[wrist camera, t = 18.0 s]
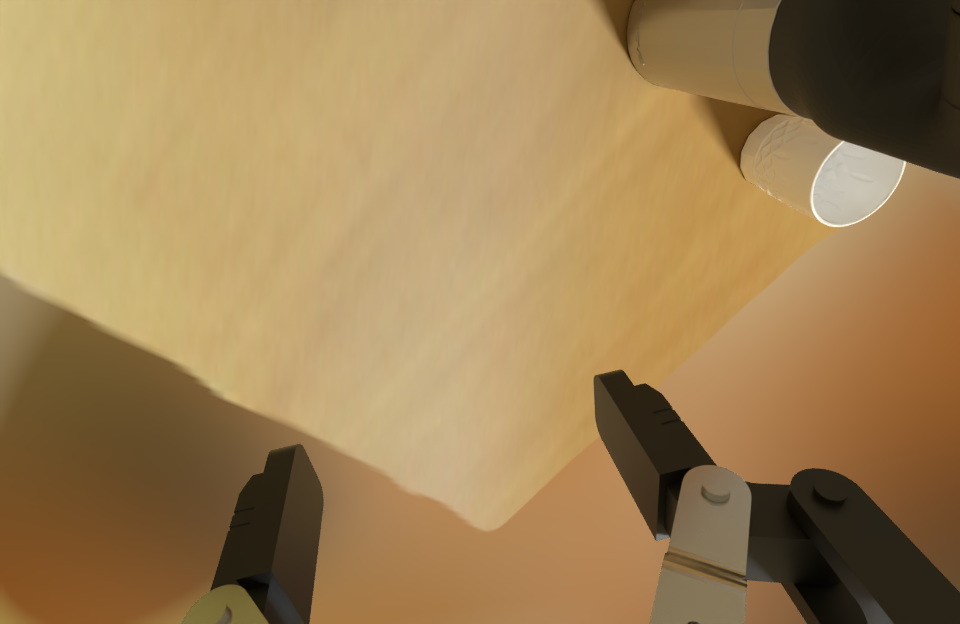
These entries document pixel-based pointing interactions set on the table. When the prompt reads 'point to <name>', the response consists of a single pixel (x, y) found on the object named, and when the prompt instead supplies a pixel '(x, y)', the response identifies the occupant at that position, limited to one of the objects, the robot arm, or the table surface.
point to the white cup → (818, 170)
